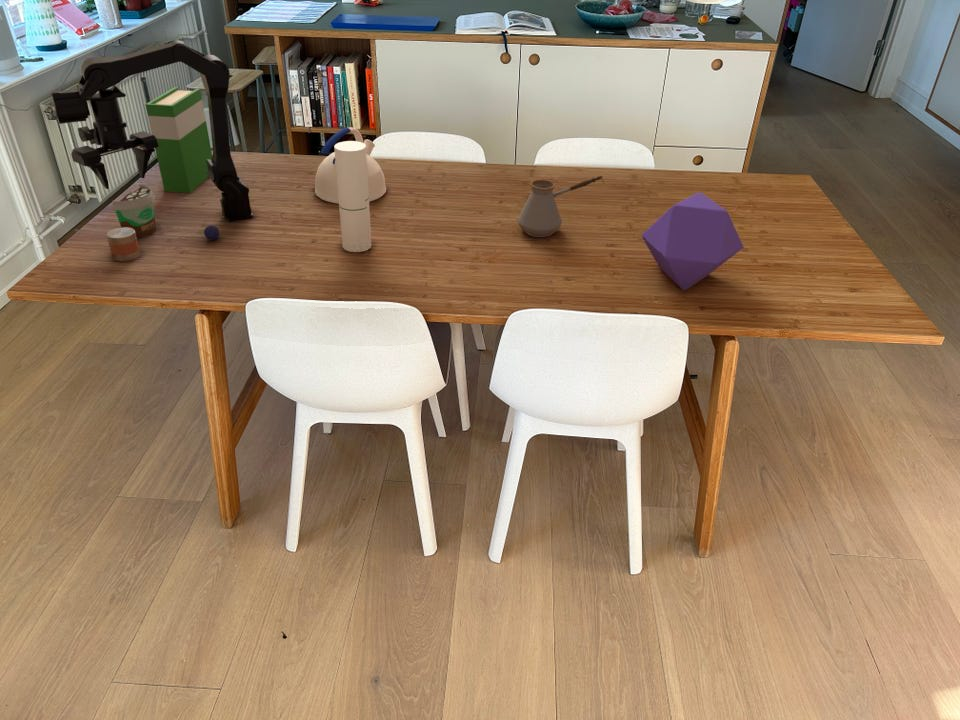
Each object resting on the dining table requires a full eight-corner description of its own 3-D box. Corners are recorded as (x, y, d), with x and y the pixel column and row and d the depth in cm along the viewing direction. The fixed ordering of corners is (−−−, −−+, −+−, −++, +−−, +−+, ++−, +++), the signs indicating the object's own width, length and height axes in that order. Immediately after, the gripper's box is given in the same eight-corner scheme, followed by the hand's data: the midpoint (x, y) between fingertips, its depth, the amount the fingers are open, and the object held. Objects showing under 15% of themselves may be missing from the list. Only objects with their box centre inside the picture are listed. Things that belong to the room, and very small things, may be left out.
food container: (144, 243, 182) (134, 204, 176) (121, 240, 183) (110, 201, 177) (171, 222, 192) (162, 185, 186) (149, 220, 193) (140, 183, 187)
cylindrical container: (376, 242, 186) (371, 143, 172) (363, 254, 180) (357, 152, 166) (350, 237, 188) (343, 139, 173) (337, 249, 182) (328, 148, 168)
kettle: (401, 188, 216) (399, 125, 206) (354, 211, 201) (350, 145, 191) (347, 172, 225) (343, 112, 214) (299, 193, 210) (292, 130, 200)
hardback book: (191, 169, 223) (174, 87, 210) (214, 170, 223) (200, 88, 209) (164, 191, 209) (145, 104, 195) (189, 192, 208) (172, 105, 195)
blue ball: (218, 235, 186) (216, 222, 184) (222, 241, 184) (219, 227, 182) (203, 238, 185) (201, 224, 183) (207, 243, 182) (204, 230, 180)
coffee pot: (519, 240, 189) (523, 184, 180) (514, 222, 198) (517, 167, 190) (602, 240, 191) (609, 184, 182) (593, 221, 200) (600, 167, 192)
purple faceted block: (724, 312, 169) (775, 235, 161) (659, 291, 161) (710, 208, 152) (676, 267, 187) (720, 196, 179) (615, 246, 178) (658, 170, 170)
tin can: (138, 248, 179) (132, 225, 176) (142, 258, 175) (136, 234, 172) (111, 253, 177) (104, 229, 173) (114, 263, 172) (108, 240, 169)
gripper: (126, 102, 180) (141, 165, 189) (49, 119, 168) (69, 185, 177) (152, 111, 175) (166, 175, 183) (75, 130, 162) (95, 197, 171)
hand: (125, 183), depth 179 cm, fingers open, 9 cm apart
